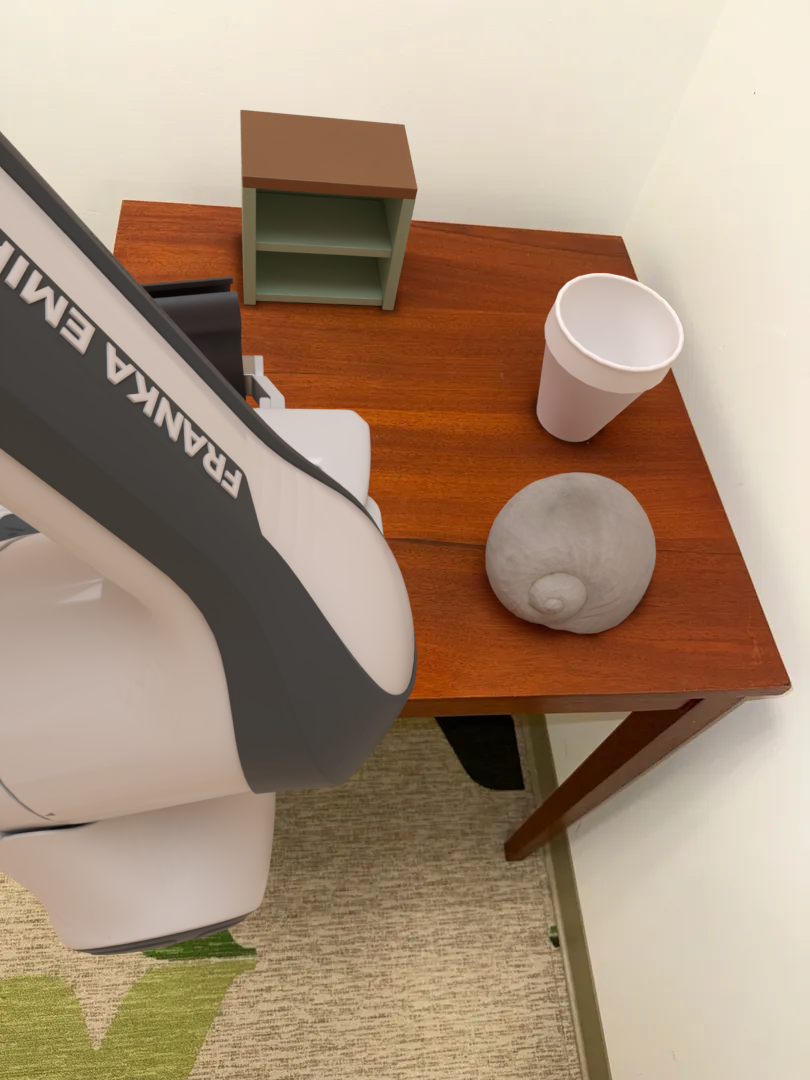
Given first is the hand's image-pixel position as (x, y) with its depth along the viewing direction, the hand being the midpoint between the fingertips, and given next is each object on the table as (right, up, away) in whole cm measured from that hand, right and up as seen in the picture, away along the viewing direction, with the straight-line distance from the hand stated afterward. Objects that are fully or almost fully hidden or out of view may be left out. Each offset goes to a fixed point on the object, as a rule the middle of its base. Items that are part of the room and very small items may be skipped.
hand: (183, 360), depth 44 cm
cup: (+30, +3, +37) cm, 47 cm away
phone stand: (-1, -4, +5) cm, 6 cm away
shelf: (+3, +19, +41) cm, 45 cm away
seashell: (+27, -13, +27) cm, 40 cm away
